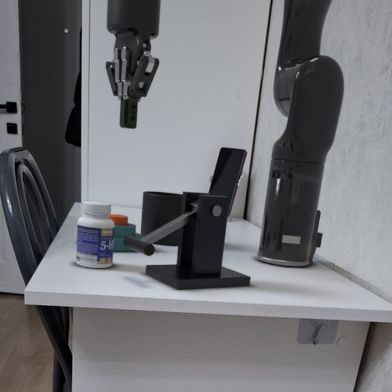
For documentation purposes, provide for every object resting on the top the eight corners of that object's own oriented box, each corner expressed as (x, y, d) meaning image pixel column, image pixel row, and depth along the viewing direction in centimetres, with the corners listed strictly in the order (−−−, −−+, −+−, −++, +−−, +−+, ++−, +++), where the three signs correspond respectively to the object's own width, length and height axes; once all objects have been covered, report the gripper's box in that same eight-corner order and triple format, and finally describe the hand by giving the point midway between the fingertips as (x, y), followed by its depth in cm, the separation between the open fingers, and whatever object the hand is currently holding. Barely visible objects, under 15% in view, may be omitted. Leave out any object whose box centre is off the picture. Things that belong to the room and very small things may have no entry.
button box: (131, 242, 102) (132, 221, 101) (151, 251, 96) (153, 228, 94) (80, 242, 97) (81, 219, 95) (98, 251, 90) (99, 227, 89)
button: (122, 224, 97) (122, 214, 97) (131, 227, 95) (131, 217, 94) (103, 224, 95) (103, 213, 95) (112, 227, 93) (112, 216, 92)
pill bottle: (105, 270, 77) (108, 206, 74) (70, 265, 78) (71, 201, 75) (117, 264, 82) (120, 203, 79) (84, 259, 83) (86, 199, 80)
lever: (147, 261, 69) (141, 244, 67) (126, 252, 73) (120, 236, 72) (227, 214, 73) (222, 197, 72) (203, 208, 78) (198, 192, 76)
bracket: (177, 289, 71) (186, 196, 67) (145, 273, 78) (151, 188, 74) (249, 285, 77) (261, 200, 73) (213, 271, 84) (222, 192, 80)
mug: (165, 235, 116) (168, 191, 113) (196, 245, 107) (201, 198, 104) (125, 234, 111) (128, 188, 108) (155, 245, 101) (158, 195, 98)
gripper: (181, -4, 74) (171, 132, 80) (135, 10, 84) (129, 130, 90) (133, -19, 70) (125, 126, 76) (90, -2, 80) (87, 124, 86)
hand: (127, 128), depth 83 cm, fingers closed
